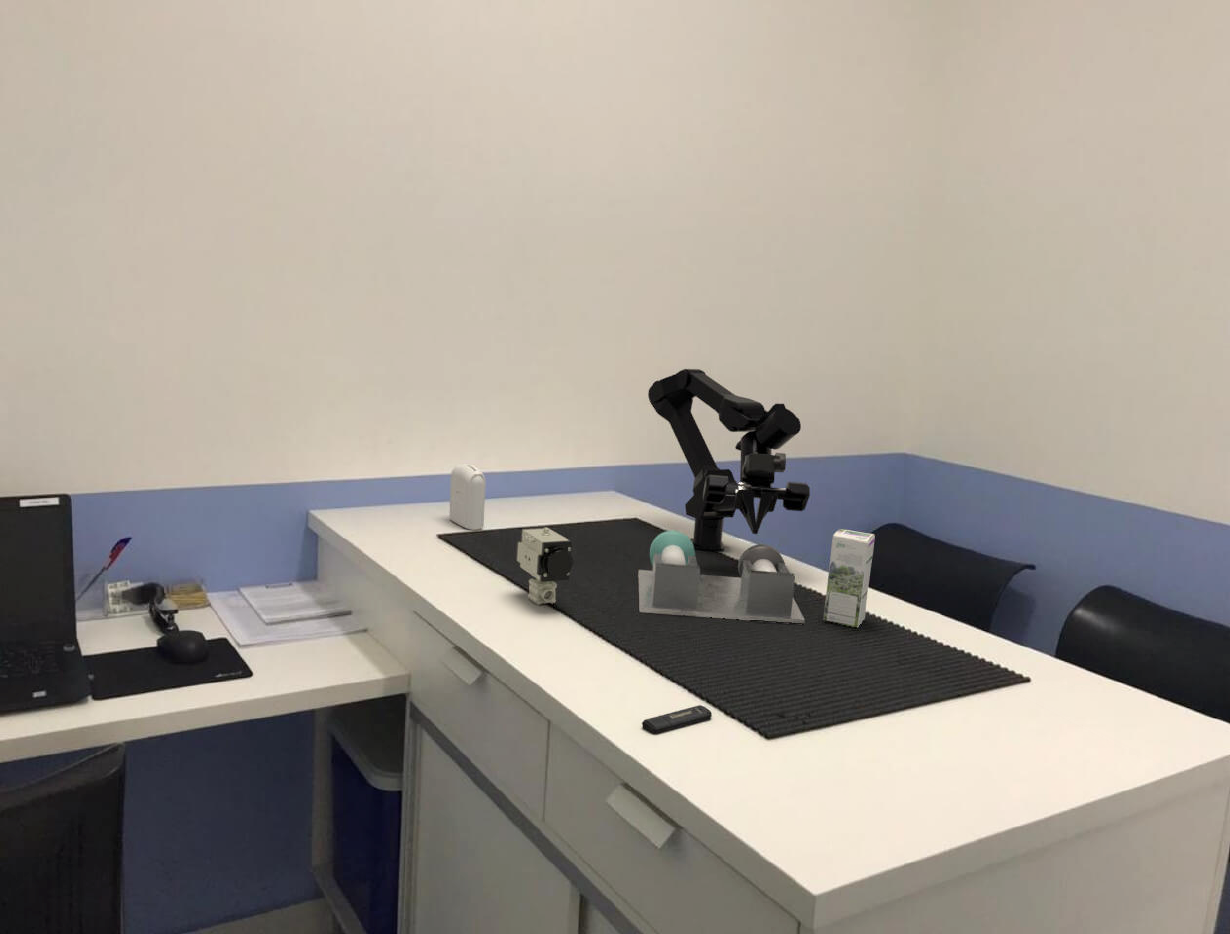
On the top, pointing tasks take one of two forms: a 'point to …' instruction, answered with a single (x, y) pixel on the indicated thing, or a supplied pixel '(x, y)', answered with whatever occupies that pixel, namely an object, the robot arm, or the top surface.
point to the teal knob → (672, 548)
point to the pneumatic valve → (544, 561)
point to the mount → (718, 592)
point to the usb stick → (676, 719)
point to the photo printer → (467, 496)
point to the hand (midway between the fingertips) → (755, 532)
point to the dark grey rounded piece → (761, 558)
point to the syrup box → (848, 577)
